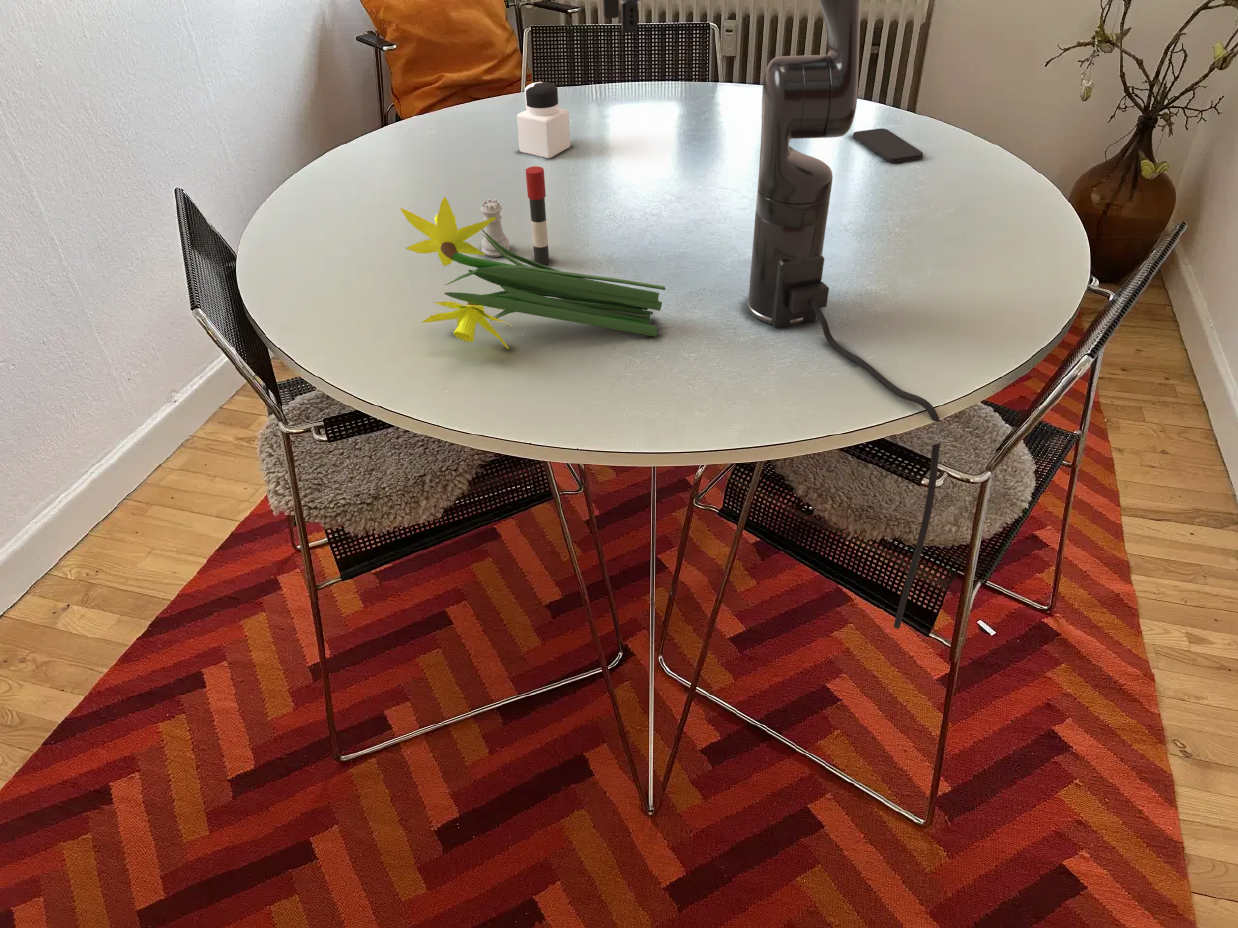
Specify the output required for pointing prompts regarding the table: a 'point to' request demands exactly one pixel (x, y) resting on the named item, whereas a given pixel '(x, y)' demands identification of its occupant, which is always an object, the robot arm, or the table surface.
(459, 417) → the table surface
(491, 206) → the rook chess piece
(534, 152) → the medicine bottle
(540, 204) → the marker
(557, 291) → the daffodil flowers
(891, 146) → the phone
